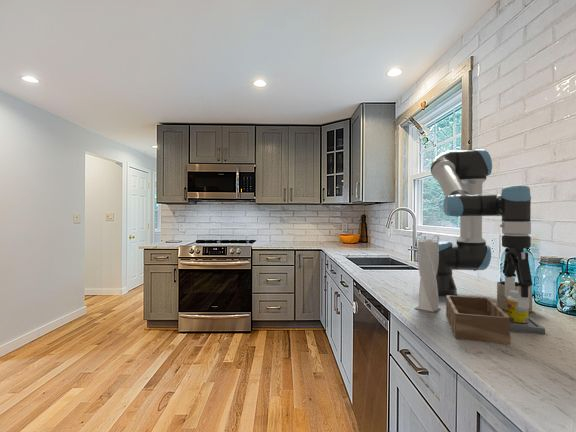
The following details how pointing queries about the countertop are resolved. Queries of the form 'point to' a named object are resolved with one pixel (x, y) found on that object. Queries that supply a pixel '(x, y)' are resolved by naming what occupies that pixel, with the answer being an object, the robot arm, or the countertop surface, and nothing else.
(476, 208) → the robot arm
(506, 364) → the countertop surface
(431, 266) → the skyscraper
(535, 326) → the tray
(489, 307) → the frame
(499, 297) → the planter
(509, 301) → the supplement bottle
